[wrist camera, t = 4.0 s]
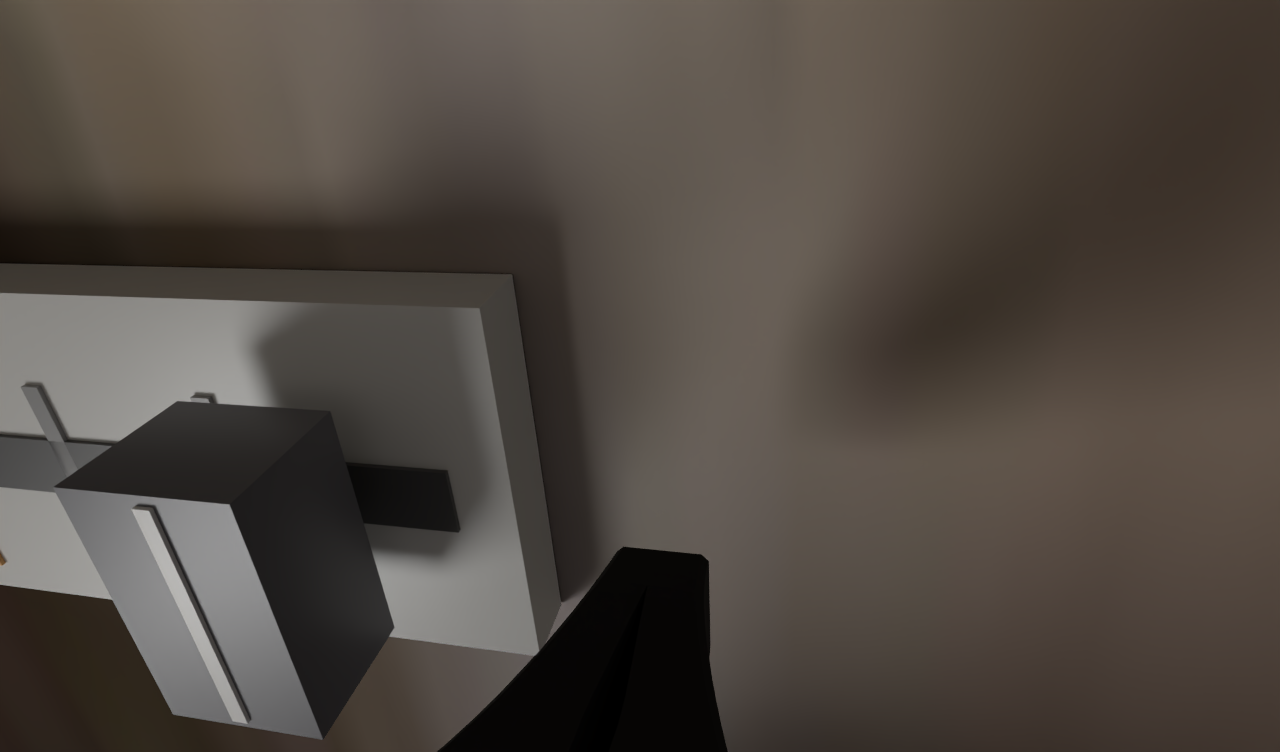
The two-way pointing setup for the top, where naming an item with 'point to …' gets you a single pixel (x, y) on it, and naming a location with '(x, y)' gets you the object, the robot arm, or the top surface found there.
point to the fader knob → (237, 562)
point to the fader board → (300, 379)
